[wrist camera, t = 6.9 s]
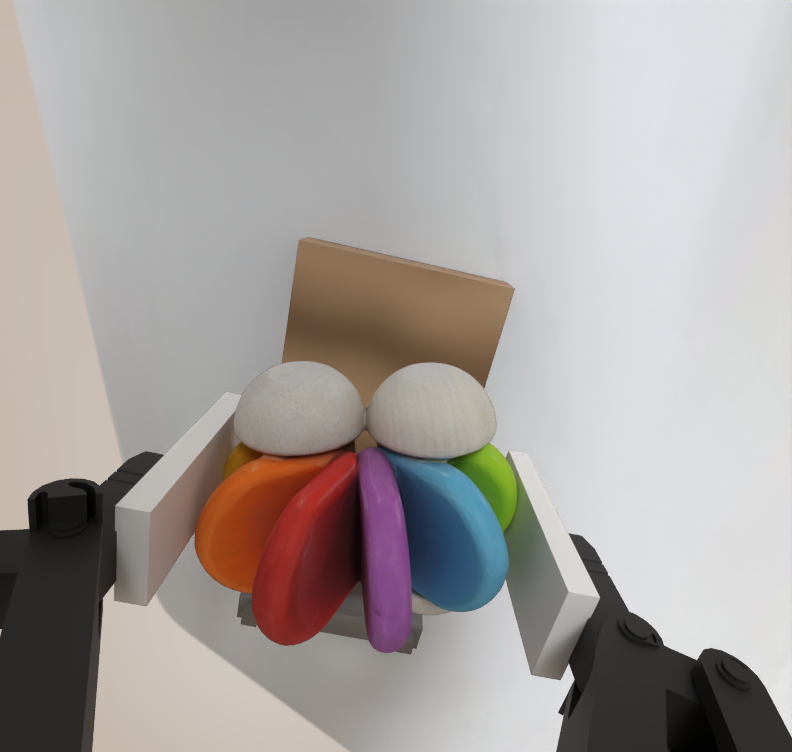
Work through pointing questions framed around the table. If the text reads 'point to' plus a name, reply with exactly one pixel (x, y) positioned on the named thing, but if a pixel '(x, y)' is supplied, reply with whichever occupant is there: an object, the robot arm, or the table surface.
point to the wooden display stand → (385, 342)
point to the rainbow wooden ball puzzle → (360, 501)
